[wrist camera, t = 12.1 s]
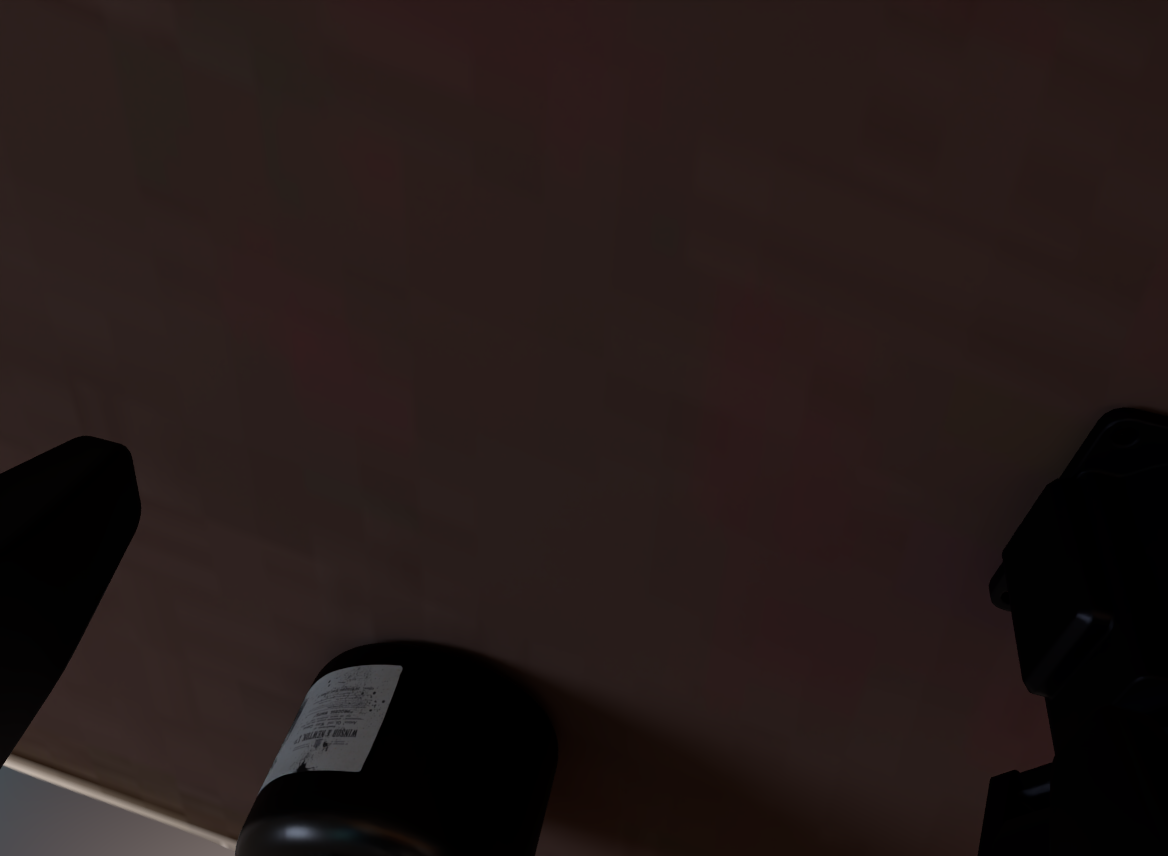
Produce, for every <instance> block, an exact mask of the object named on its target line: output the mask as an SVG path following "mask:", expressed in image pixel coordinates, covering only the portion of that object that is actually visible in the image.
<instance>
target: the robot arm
mask: <svg viewBox="0 0 1168 856" xmlns="http://www.w3.org/2000/svg"><path fill="white" fill-rule="evenodd" d="M1123 428H1132V430H1131V431H1130V432H1129V433H1126V434H1123V435H1118V434H1114V433H1115V432H1117V431H1118V430H1120V429H1123ZM140 516H141V502H140V497H139V491H138V486H137V481H136V476H135V470H134V465H133V460H132V456H131V453H130V451H129V450H128V449H127V448H126V446H124V445H122V444H119V443H115V442H111V441H108V440H104V439H100V438H96V437H92V436H81V437H77V438H74V439H71V440H69V441H67V442H65V443H63V444H61V445H59V446H57V447H55V448H53V449H51V450H49V451H47V452H45V453H42V454H40V455H38V456H36V457H34V458H32V459H30V460H28V461H26V462H24V463H22V464H20V465H18V466H15V467H13V468H11V469H9V470H7V471H5V472H3V473H1V474H0V769H1V767H2V766H3V764H4V763H5V761H6V759H7V758H8V756H9V755H10V753H11V752H12V750H13V749H14V747H15V746H16V744H17V743H18V741H19V740H20V738H21V737H22V735H23V734H24V732H25V731H26V729H27V728H28V726H29V724H30V723H31V721H32V720H33V718H34V717H35V715H36V714H37V712H38V711H39V709H40V708H41V706H42V705H43V703H44V702H45V700H46V699H47V697H48V696H49V694H50V692H51V691H52V689H53V688H54V686H55V684H56V683H57V681H58V680H59V678H60V676H61V675H62V673H63V672H64V670H65V668H66V666H67V664H68V663H69V661H70V659H71V657H72V655H73V653H74V652H75V650H76V648H77V646H78V644H79V642H80V640H81V638H82V636H83V634H84V632H85V630H86V628H87V626H88V624H89V622H90V620H91V618H92V616H93V614H94V612H95V611H96V609H97V607H98V605H99V603H100V601H101V599H102V597H103V595H104V593H105V591H106V589H107V587H108V585H109V583H110V581H111V579H112V577H113V575H114V573H115V571H116V569H117V567H118V565H119V563H120V561H121V559H122V557H123V555H124V553H125V551H126V549H127V547H128V546H129V544H130V542H131V540H132V538H133V536H134V534H135V532H136V529H137V527H138V524H139V520H140ZM1002 558H1003V562H1002V564H1001V565H1000V567H999V568H998V570H997V571H996V573H995V574H994V576H993V577H992V579H991V580H990V583H989V591H990V597H991V601H992V603H993V604H994V605H995V606H996V607H998V608H1001V609H1003V610H1007V611H1011V613H1012V619H1013V625H1014V631H1015V637H1016V643H1017V650H1018V656H1019V662H1020V668H1021V674H1022V680H1023V682H1024V684H1025V686H1026V687H1027V689H1028V691H1029V692H1030V693H1032V694H1036V695H1040V696H1043V697H1045V702H1046V707H1047V713H1048V718H1049V724H1050V729H1051V735H1052V740H1053V746H1054V751H1055V756H1054V759H1053V762H1052V763H1049V764H1046V765H1043V766H1040V767H1037V768H1033V769H1030V770H1027V771H1024V772H1021V773H1020V772H1019V771H1017V770H1012V771H1009V772H1006V773H1003V774H1000V775H997V776H994V777H991V779H990V783H989V790H988V796H987V802H986V808H985V814H984V820H983V826H982V832H981V838H980V845H979V851H978V856H1168V417H1165V416H1161V415H1157V414H1153V413H1150V412H1146V411H1142V410H1138V409H1134V408H1119V409H1113V410H1111V411H1109V412H1107V413H1105V414H1104V415H1103V416H1102V417H1101V418H1100V419H1099V420H1098V422H1097V423H1096V425H1095V426H1094V428H1093V429H1092V431H1091V432H1090V434H1089V435H1088V436H1087V438H1086V439H1085V441H1084V442H1083V444H1082V445H1081V447H1080V448H1079V450H1078V451H1077V453H1076V454H1075V456H1074V457H1073V459H1072V460H1071V462H1070V463H1069V465H1068V466H1067V468H1066V469H1065V471H1064V472H1063V474H1062V475H1061V477H1060V478H1059V479H1056V480H1054V481H1052V482H1051V483H1049V484H1048V485H1047V486H1046V487H1045V488H1044V490H1043V491H1042V493H1041V494H1040V496H1039V497H1038V499H1037V500H1036V502H1035V503H1034V505H1033V506H1032V508H1031V509H1030V511H1029V512H1028V514H1027V515H1026V517H1025V518H1024V520H1023V521H1022V523H1021V524H1020V526H1019V527H1018V529H1017V530H1016V532H1015V533H1014V535H1013V536H1012V538H1011V539H1010V541H1009V542H1008V544H1007V545H1006V547H1005V548H1004V550H1003V552H1002ZM1006 591H1008V592H1006Z"/></svg>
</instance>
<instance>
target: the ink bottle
mask: <svg viewBox="0 0 1168 856" xmlns="http://www.w3.org/2000/svg"><path fill="white" fill-rule="evenodd" d="M557 761H558V742H557V737H556V733H555V730H554V728H553V725H552V723H551V721H550V719H549V717H548V716H547V714H546V713H545V711H544V710H543V709H542V708H541V706H540V705H539V704H538V703H537V702H536V701H535V700H534V699H533V698H532V697H531V696H530V695H529V694H527V693H526V692H525V691H524V690H522V689H521V688H520V687H518V686H517V685H515V684H514V683H512V682H511V681H509V680H508V679H506V678H504V677H503V676H501V675H499V674H497V673H496V672H494V671H492V670H490V669H488V668H485V667H483V666H481V665H479V664H477V663H474V662H472V661H469V660H467V659H464V658H461V657H459V656H456V655H453V654H450V653H446V652H443V651H439V650H435V649H431V648H426V647H422V646H416V645H409V644H400V643H376V644H368V645H363V646H359V647H356V648H353V649H350V650H348V651H346V652H343V653H342V654H340V655H338V656H337V657H335V658H334V659H332V660H331V661H330V662H329V663H328V664H327V665H326V666H325V667H324V668H323V669H322V670H321V671H320V672H319V674H318V675H317V677H316V678H315V680H314V682H313V684H312V686H311V688H310V690H309V692H308V693H307V695H306V697H305V699H304V701H303V703H302V705H301V708H300V710H299V712H298V714H297V716H296V718H295V720H294V722H293V724H292V726H291V728H290V730H289V732H288V734H287V736H286V738H285V740H284V742H283V744H282V746H281V749H280V751H279V753H278V755H277V757H276V759H275V761H274V763H273V765H272V767H271V769H270V771H269V773H268V775H267V777H266V779H265V781H264V783H263V785H262V788H261V790H260V792H259V794H258V796H257V798H256V800H255V802H254V804H253V807H252V809H251V811H250V813H249V815H248V817H247V819H246V821H245V823H244V825H243V827H242V830H241V832H240V835H239V838H238V841H237V845H236V851H235V856H535V853H536V849H537V845H538V841H539V837H540V833H541V829H542V825H543V820H544V816H545V812H546V808H547V804H548V800H549V796H550V792H551V788H552V784H553V780H554V776H555V772H556V767H557Z"/></svg>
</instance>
